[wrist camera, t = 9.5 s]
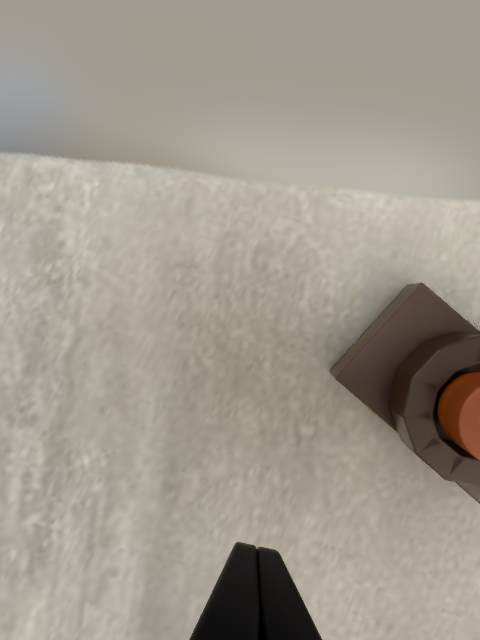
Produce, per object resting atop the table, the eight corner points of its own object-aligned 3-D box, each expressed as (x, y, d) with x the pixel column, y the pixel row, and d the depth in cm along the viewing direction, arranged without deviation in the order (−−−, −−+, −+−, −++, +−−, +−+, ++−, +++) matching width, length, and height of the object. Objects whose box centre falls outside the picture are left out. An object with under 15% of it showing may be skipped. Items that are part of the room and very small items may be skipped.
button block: (562, 411, 18) (633, 437, 15) (474, 501, 18) (522, 547, 15) (409, 281, 18) (443, 276, 15) (326, 373, 19) (340, 389, 15)
